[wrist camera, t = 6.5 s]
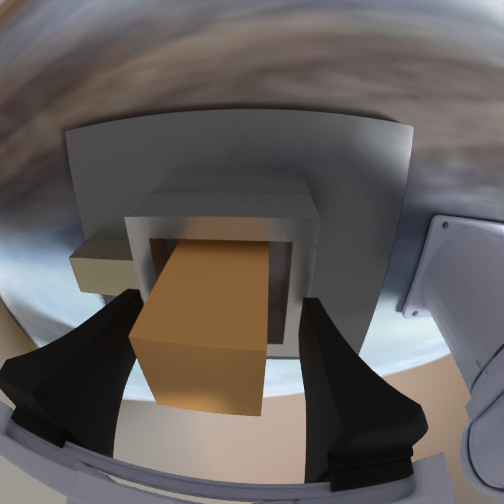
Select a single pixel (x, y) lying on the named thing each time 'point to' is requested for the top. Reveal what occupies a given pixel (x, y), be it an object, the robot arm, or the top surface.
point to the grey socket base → (246, 204)
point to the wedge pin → (207, 327)
